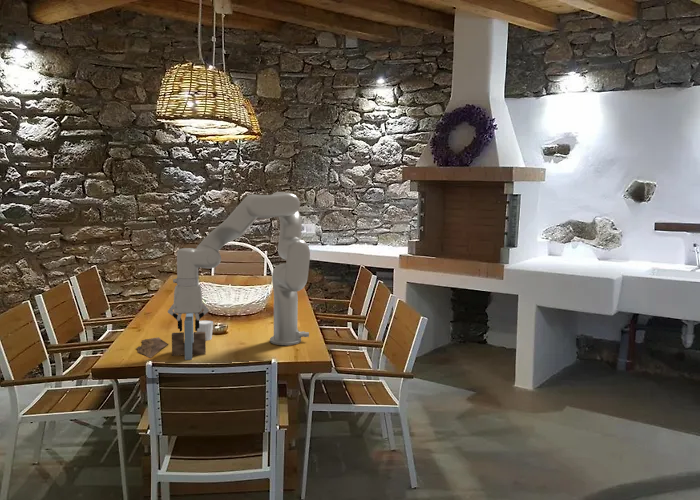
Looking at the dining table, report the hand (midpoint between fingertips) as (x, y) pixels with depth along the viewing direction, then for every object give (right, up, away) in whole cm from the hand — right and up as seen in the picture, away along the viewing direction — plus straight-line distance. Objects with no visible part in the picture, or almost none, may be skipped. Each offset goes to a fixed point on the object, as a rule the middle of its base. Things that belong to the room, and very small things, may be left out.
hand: (188, 329), depth 227 cm
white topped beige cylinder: (+1, -7, +22) cm, 23 cm away
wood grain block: (0, -9, +1) cm, 9 cm away
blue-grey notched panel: (0, -9, +1) cm, 9 cm away
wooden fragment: (-16, -8, +8) cm, 20 cm away
